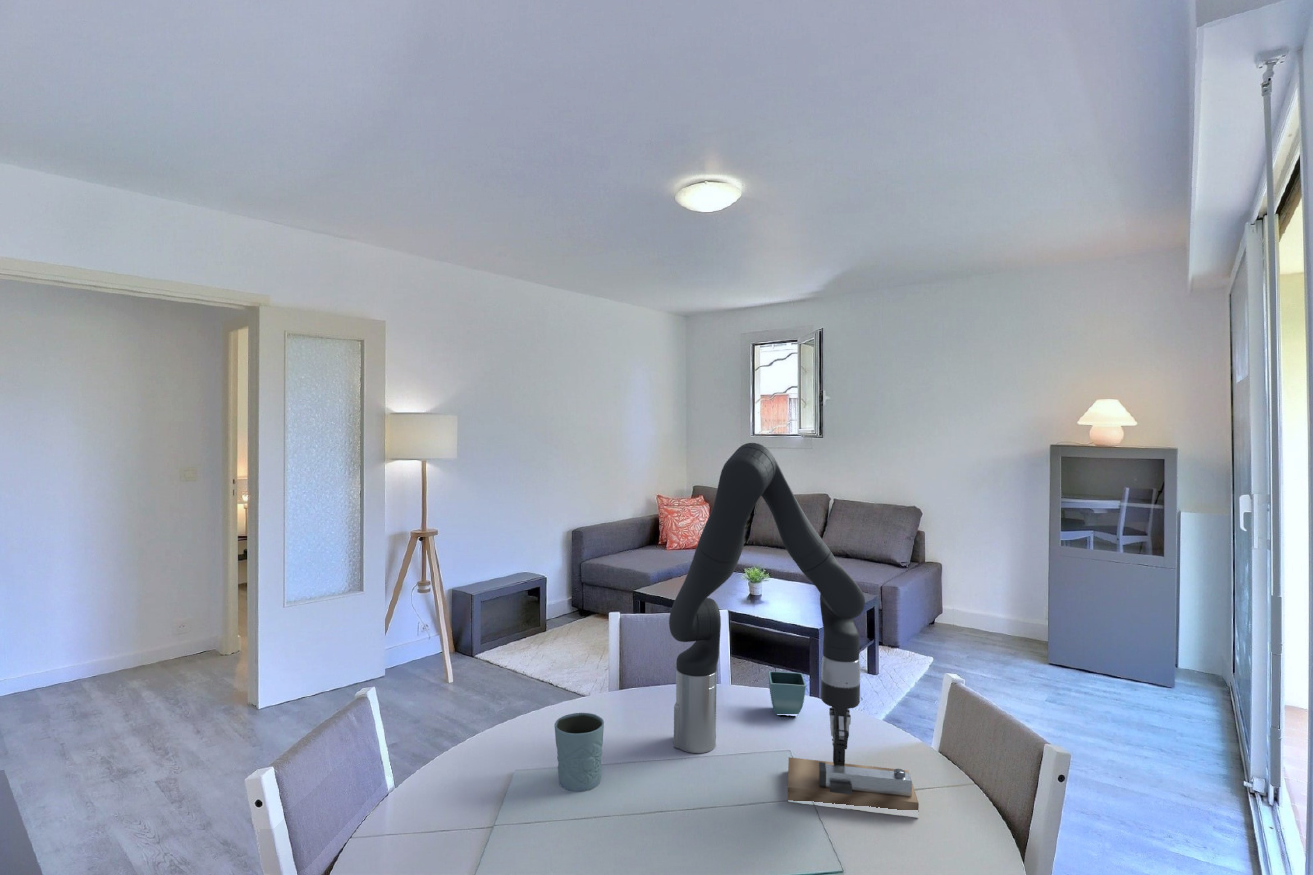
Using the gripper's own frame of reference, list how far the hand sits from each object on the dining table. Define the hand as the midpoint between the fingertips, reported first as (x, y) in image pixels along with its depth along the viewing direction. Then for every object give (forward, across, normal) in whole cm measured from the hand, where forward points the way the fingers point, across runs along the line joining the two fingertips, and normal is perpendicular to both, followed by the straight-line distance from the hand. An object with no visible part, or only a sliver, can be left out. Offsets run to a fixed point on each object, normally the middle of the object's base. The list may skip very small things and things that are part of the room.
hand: (838, 764), depth 135 cm
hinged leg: (+2, -4, -5) cm, 6 cm away
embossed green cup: (+6, -8, +52) cm, 53 cm away
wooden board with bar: (+5, 0, -2) cm, 6 cm away
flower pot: (+6, +35, +11) cm, 37 cm away
